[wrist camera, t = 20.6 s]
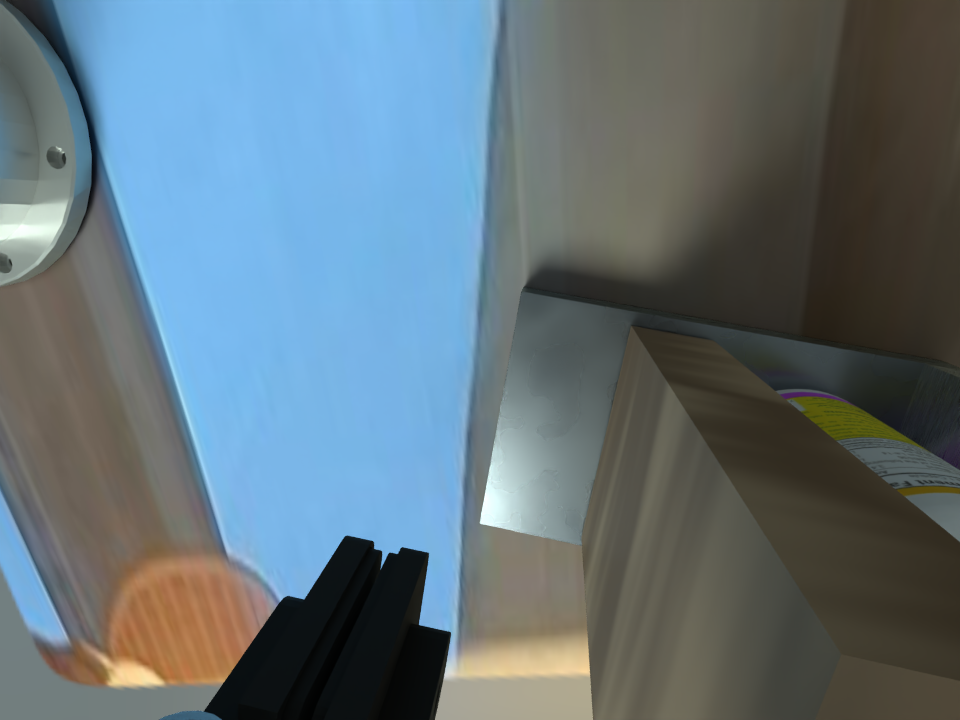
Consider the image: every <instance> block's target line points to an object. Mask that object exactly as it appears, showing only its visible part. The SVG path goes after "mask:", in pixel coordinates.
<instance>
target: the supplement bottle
mask: <svg viewBox="0 0 960 720" xmlns="http://www.w3.org/2000/svg"><path fill="white" fill-rule="evenodd" d="M776 392H777V393H778V394H780V395H781V396H782V397H783V398H785V399H786V400H787V401H788V402H789V403H791V404H792V405H793V406H794V407H796V408H797V409H798V410H799V411H800V412H802V413H803V414H804V415H805V416H807V417H808V418H809V419H810V420H811V421H813V422H814V423H815V424H816V425H818V426H819V427H820V428H821V429H822V430H824V431H825V432H826V433H827V434H829V435H830V436H831V437H832V438H833V439H835V440H836V441H837V442H838V443H840V444H841V445H842V446H843V447H844V448H846V449H847V450H848V451H849V452H851V453H852V454H853V455H854V456H855V457H857V458H858V459H859V460H860V461H862V462H863V463H864V464H865V465H867V466H868V467H869V468H870V469H871V470H873V471H874V472H875V473H876V474H878V475H879V476H880V477H881V478H882V479H884V480H885V481H886V482H887V483H889V484H890V485H891V486H892V487H893V488H895V489H896V490H897V491H898V492H900V493H901V494H902V495H903V496H904V497H906V498H907V499H908V500H909V501H911V502H912V503H913V504H914V505H915V506H917V507H918V508H919V509H920V510H922V511H923V512H924V513H925V514H926V515H928V516H929V517H930V518H931V519H933V520H934V521H935V522H936V523H937V524H939V525H940V526H941V527H942V528H944V529H945V530H946V531H947V532H948V533H950V534H951V535H952V536H953V537H955V538H956V539H957V540H958V541H960V470H959V469H957V468H955V467H954V466H952V465H951V464H949V463H947V462H946V461H944V460H943V459H941V458H939V457H937V456H936V455H934V454H932V453H931V452H929V451H928V450H926V449H924V448H923V447H921V446H920V445H918V444H917V443H915V442H913V441H912V440H910V439H908V438H907V437H905V436H904V435H902V434H901V433H899V432H897V431H896V430H894V429H893V428H891V427H889V426H888V425H886V424H884V423H883V422H881V421H880V420H878V419H876V418H875V417H873V416H871V415H870V414H868V413H867V412H865V411H863V410H862V409H860V408H858V407H857V406H855V405H853V404H851V403H850V402H848V401H846V400H844V399H842V398H839V397H837V396H834V395H831V394H829V393H825V392H821V391H816V390H807V389H787V390H778V391H776Z"/></svg>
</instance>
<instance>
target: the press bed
mask: <svg viewBox="0 0 960 720" xmlns="http://www.w3.org/2000/svg"><path fill="white" fill-rule="evenodd" d="M631 326H635V327H641V328H647V329H652V330H658V331H663V332H669V333H674V334H680V335H685V336H691V337H696V338H702V339H707V340H713V341H715V342H716V343H717V344H718V345H720V346H721V347H722V348H723V349H725V350H726V351H727V352H728V353H729V354H731V355H732V356H733V357H734V358H736V359H737V360H738V361H739V362H740V363H742V364H743V365H744V366H745V367H747V368H748V369H749V370H750V371H751V372H753V373H754V374H755V375H756V376H758V377H759V378H760V379H761V380H762V381H764V382H765V383H766V384H767V385H769V386H770V387H771V388H772V389H774V390H775V391H778V390H787V389H807V390H816V391H821V392H825V393H829V394H831V395H834V396H837V397H839V398H842V399H844V400H846V401H848V402H850V403H851V404H853V405H855V406H857V407H858V408H860V409H862V410H863V411H865V412H867V413H868V414H870V415H871V416H873V417H875V418H876V419H878V420H880V421H881V422H883V423H884V424H886V425H888V426H889V427H891V428H893V429H894V430H896V431H897V432H899V433H901V434H902V435H904V436H905V437H907V438H908V439H910V440H912V441H913V442H915V443H917V444H918V445H920V446H921V447H923V448H924V449H926V450H928V451H929V452H931V453H932V454H934V455H936V456H937V457H939V458H941V459H943V460H944V461H946V462H947V463H949V464H951V465H952V466H954V467H955V468H957V469H959V470H960V368H959V367H956V366H954V365H951V364H949V363H946V362H943V361H939V360H933V359H928V358H922V357H917V356H911V355H905V354H900V353H894V352H888V351H883V350H877V349H871V348H866V347H860V346H855V345H849V344H843V343H838V342H832V341H826V340H821V339H815V338H809V337H804V336H798V335H793V334H787V333H781V332H776V331H770V330H764V329H759V328H753V327H747V326H742V325H736V324H730V323H725V322H719V321H714V320H708V319H702V318H697V317H691V316H685V315H680V314H674V313H668V312H663V311H657V310H652V309H646V308H640V307H635V306H629V305H623V304H618V303H612V302H606V301H601V300H595V299H589V298H584V297H578V296H573V295H567V294H561V293H556V292H550V291H544V290H539V289H533V288H527V287H524V288H523V289H522V291H521V296H520V302H519V308H518V313H517V319H516V324H515V330H514V336H513V341H512V347H511V352H510V358H509V364H508V369H507V375H506V380H505V386H504V391H503V397H502V403H501V408H500V414H499V419H498V425H497V431H496V436H495V442H494V447H493V453H492V459H491V464H490V470H489V475H488V481H487V486H486V492H485V498H484V503H483V509H482V514H481V520H480V524H485V525H490V526H494V527H499V528H503V529H508V530H513V531H517V532H522V533H526V534H531V535H535V536H540V537H545V538H549V539H554V540H558V541H563V542H568V543H572V544H577V545H581V546H582V538H581V537H582V533H583V529H584V524H585V520H586V516H587V512H588V507H589V503H590V499H591V495H592V490H593V486H594V482H595V478H596V473H597V469H598V465H599V461H600V456H601V452H602V448H603V444H604V439H605V435H606V431H607V426H608V422H609V418H610V414H611V409H612V405H613V401H614V397H615V392H616V388H617V384H618V380H619V375H620V371H621V367H622V363H623V358H624V354H625V350H626V346H627V341H628V337H629V333H630V329H631Z"/></svg>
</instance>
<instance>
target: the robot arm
mask: <svg viewBox="0 0 960 720" xmlns="http://www.w3.org/2000/svg"><path fill="white" fill-rule="evenodd" d="M91 169H92V154H91V147H90V140H89V133H88V126H87V122H86V119H85V116H84V112H83V109H82V106H81V103H80V99H79V96H78V93H77V91H76V89H75V87H74V85H73V83H72V81H71V79H70V77H69V75H68V72H67V70H66V68H65V66H64V64H63V63H62V61H61V60H60V58H59V57H58V55H57V54H56V52H55V51H54V49H53V48H52V46H51V45H50V44H49V42H48V41H47V39H46V38H45V36H44V35H43V34H42V33H41V32H40V31H39V30H38V29H37V28H36V27H35V26H34V25H33V24H32V22H31V21H30V20H29V19H28V18H27V17H26V16H25V15H24V14H23V13H22V12H21V11H19V10H18V9H17V8H15V7H14V6H13V5H11V4H10V3H9V2H7V1H6V0H0V287H1V286H7V285H11V284H15V283H19V282H23V281H26V280H28V279H30V278H32V277H34V276H36V275H38V274H39V273H41V272H43V271H45V270H46V269H48V268H49V267H50V266H51V265H52V264H53V263H54V262H55V261H56V260H58V259H59V258H60V257H61V256H62V255H63V254H64V252H65V251H66V249H67V248H68V246H69V245H70V243H71V242H72V241H73V239H74V238H75V236H76V234H77V232H78V230H79V227H80V225H81V222H82V220H83V217H84V215H85V213H86V209H87V204H88V198H89V193H90V188H91ZM428 558H429V553H427V552H422V551H417V550H413V549H408V548H403V547H402V548H401V549H400V551H399V553H398V554H394V553H389V554H388V556H387V558H386V560H385V562H384V564H383V566H382V568H381V561H382V551H380V550H376V549H374V542H373V541H370V540H365V539H361V538H356V537H351V536H345V537H344V539H343V540H342V542H341V543H340V545H339V546H338V548H337V549H336V551H335V552H334V554H333V556H332V557H331V559H330V560H329V562H328V563H327V565H326V567H325V568H324V570H323V571H322V573H321V574H320V576H319V578H318V579H317V581H316V582H315V584H314V585H313V587H312V589H311V590H310V592H309V593H308V595H307V596H306V598H305V600H304V599H299V598H295V597H290V596H287V597H285V598H283V599H282V601H281V602H280V603H279V604H278V606H277V607H276V609H275V610H274V611H273V613H272V614H271V616H270V617H269V619H268V620H267V621H266V623H265V624H264V626H263V627H262V629H261V630H260V631H259V633H258V634H257V636H256V637H255V639H254V640H253V642H252V643H251V644H250V646H249V647H248V649H247V650H246V652H245V653H244V654H243V656H242V657H241V659H240V660H239V662H238V663H237V665H236V666H235V667H234V669H233V670H232V672H231V673H230V675H229V676H228V677H227V679H226V680H225V682H224V683H223V685H222V686H221V688H220V689H219V691H218V692H217V694H216V695H215V696H214V698H213V699H212V700H211V702H210V703H209V705H208V706H207V708H206V709H205V711H204V712H202V711H183V712H179V713H175V714H172V715H168V716H165V717H163V718H161V719H159V720H435V716H436V712H437V708H438V702H439V698H440V693H441V688H442V683H443V678H444V673H445V667H446V662H447V656H448V650H449V644H450V638H451V632H448V631H443V630H439V629H434V628H430V627H425V626H421V625H419V619H420V612H421V606H422V599H423V592H424V586H425V579H426V572H427V566H428ZM380 569H381V570H380Z"/></svg>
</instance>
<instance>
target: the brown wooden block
mask: <svg viewBox="0 0 960 720" xmlns="http://www.w3.org/2000/svg"><path fill="white" fill-rule="evenodd" d="M581 538H582V553H583V569H584V584H585V600H586V615H587V631H588V646H589V662H590V678H591V693H592V707H593V708H592V709H593V720H960V541H958V540H957V539H956V538H955V537H953V536H952V535H951V534H950V533H948V532H947V531H946V530H945V529H944V528H942V527H941V526H940V525H939V524H937V523H936V522H935V521H934V520H933V519H931V518H930V517H929V516H928V515H926V514H925V513H924V512H923V511H922V510H920V509H919V508H918V507H917V506H915V505H914V504H913V503H912V502H911V501H909V500H908V499H907V498H906V497H904V496H903V495H902V494H901V493H900V492H898V491H897V490H896V489H895V488H893V487H892V486H891V485H890V484H889V483H887V482H886V481H885V480H884V479H882V478H881V477H880V476H879V475H878V474H876V473H875V472H874V471H873V470H871V469H870V468H869V467H868V466H867V465H865V464H864V463H863V462H862V461H860V460H859V459H858V458H857V457H855V456H854V455H853V454H852V453H851V452H849V451H848V450H847V449H846V448H844V447H843V446H842V445H841V444H840V443H838V442H837V441H836V440H835V439H833V438H832V437H831V436H830V435H829V434H827V433H826V432H825V431H824V430H822V429H821V428H820V427H819V426H818V425H816V424H815V423H814V422H813V421H811V420H810V419H809V418H808V417H807V416H805V415H804V414H803V413H802V412H800V411H799V410H798V409H797V408H796V407H794V406H793V405H792V404H791V403H789V402H788V401H787V400H786V399H785V398H783V397H782V396H781V395H780V394H778V393H777V392H776V391H775V390H774V389H772V388H771V387H770V386H769V385H767V384H766V383H765V382H764V381H762V380H761V379H760V378H759V377H758V376H756V375H755V374H754V373H753V372H751V371H750V370H749V369H748V368H747V367H745V366H744V365H743V364H742V363H740V362H739V361H738V360H737V359H736V358H734V357H733V356H732V355H731V354H729V353H728V352H727V351H726V350H725V349H723V348H722V347H721V346H720V345H718V344H717V343H716V342H715V341H713V340H707V339H702V338H696V337H691V336H685V335H680V334H674V333H669V332H663V331H658V330H652V329H647V328H641V327H635V326H631V329H630V333H629V337H628V341H627V346H626V350H625V354H624V358H623V363H622V367H621V371H620V375H619V380H618V384H617V388H616V392H615V397H614V401H613V405H612V409H611V414H610V418H609V422H608V426H607V431H606V435H605V439H604V444H603V448H602V452H601V456H600V461H599V465H598V469H597V473H596V478H595V482H594V486H593V490H592V495H591V499H590V503H589V507H588V512H587V516H586V520H585V524H584V529H583V533H582V537H581Z"/></svg>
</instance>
